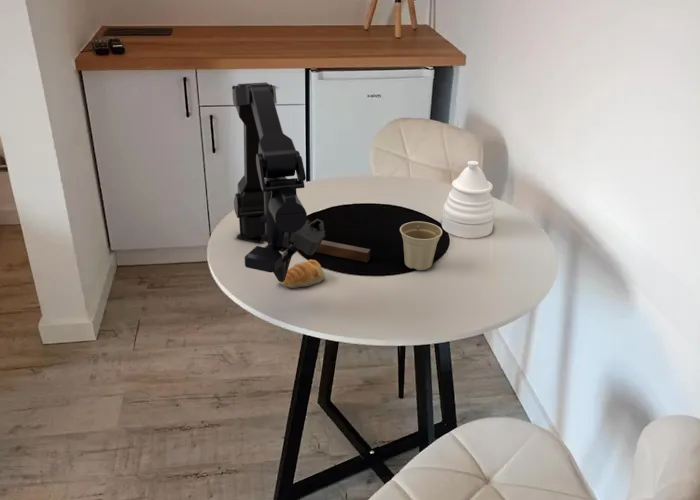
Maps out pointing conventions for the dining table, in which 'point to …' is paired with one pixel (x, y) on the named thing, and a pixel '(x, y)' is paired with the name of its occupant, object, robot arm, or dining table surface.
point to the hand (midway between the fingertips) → (281, 280)
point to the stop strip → (344, 251)
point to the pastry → (304, 274)
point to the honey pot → (469, 205)
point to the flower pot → (420, 243)
